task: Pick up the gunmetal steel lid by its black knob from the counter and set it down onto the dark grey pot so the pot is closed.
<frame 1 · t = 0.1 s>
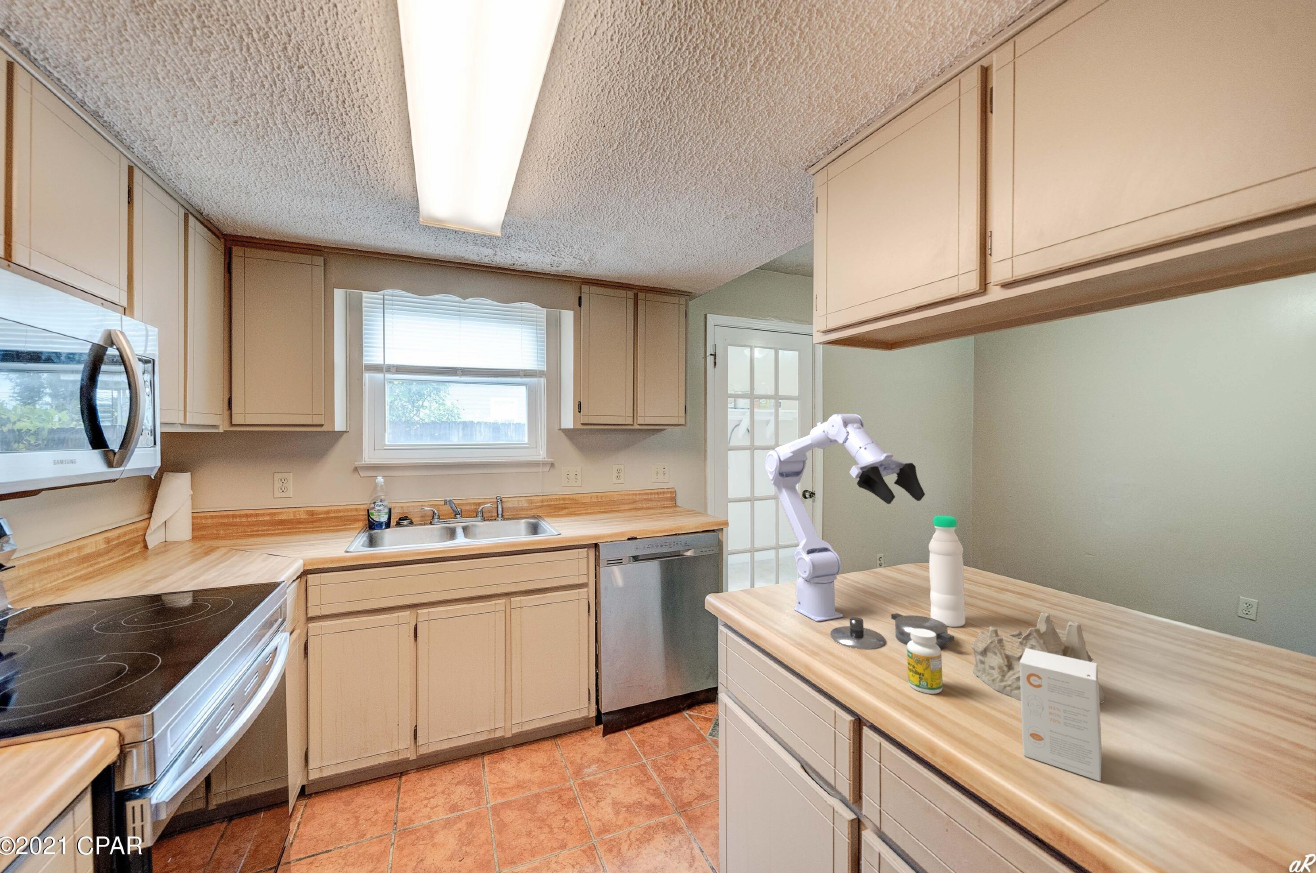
hand: (906, 499, 96), 32 cm above the worktop, tool tilted 50°, fingers open, 7 cm apart
water bottle: (947, 623, 115), on the worktop
lid: (857, 640, 107), on the worktop
small box: (1062, 759, 66), on the worktop
pot: (921, 639, 105), on the worktop
ceramic cottage: (1036, 687, 85), on the worktop
supplement bottle: (925, 688, 86), on the worktop
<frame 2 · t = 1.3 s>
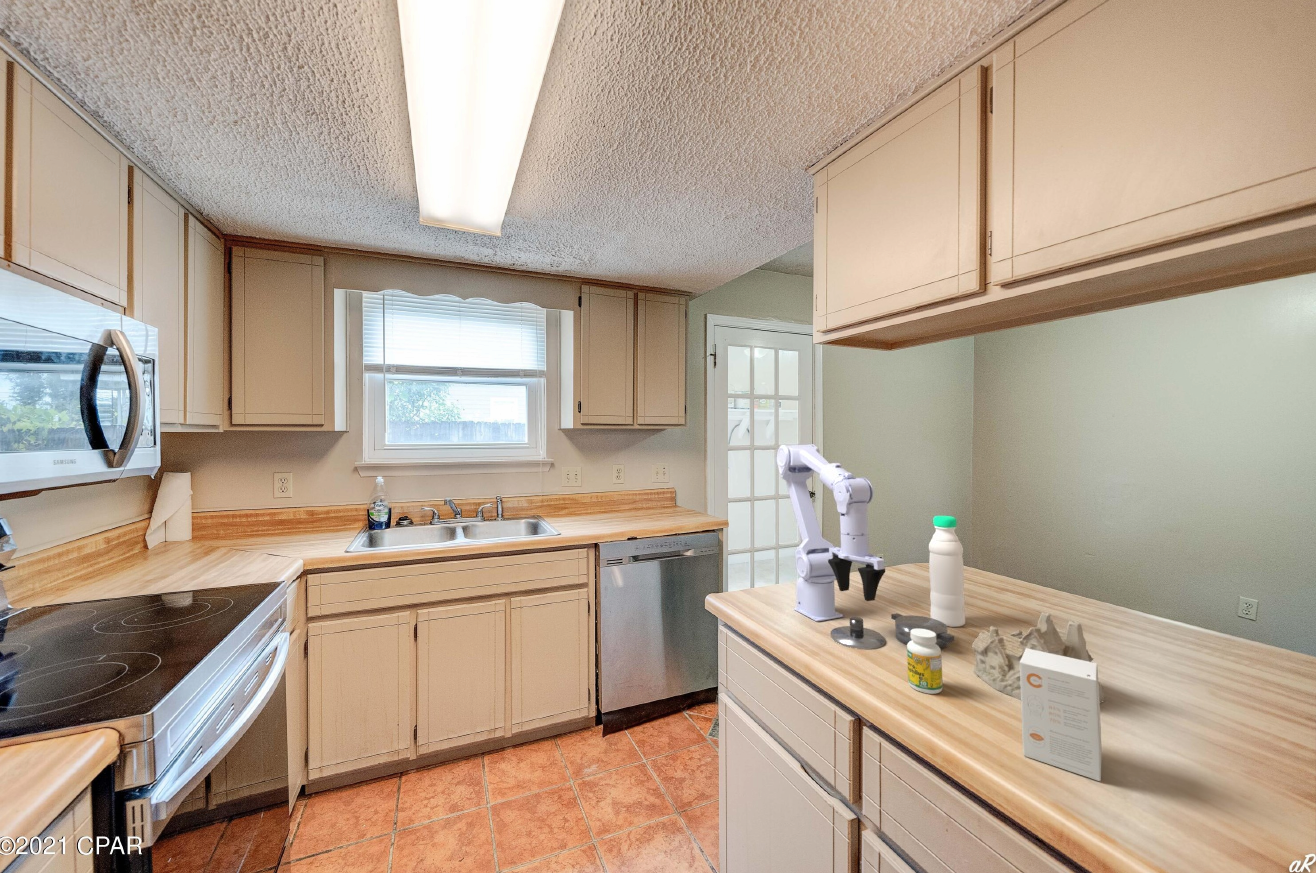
hand: (856, 595, 107), 10 cm above the worktop, tool pointing down, fingers open, 7 cm apart
nothing on the worktop moved.
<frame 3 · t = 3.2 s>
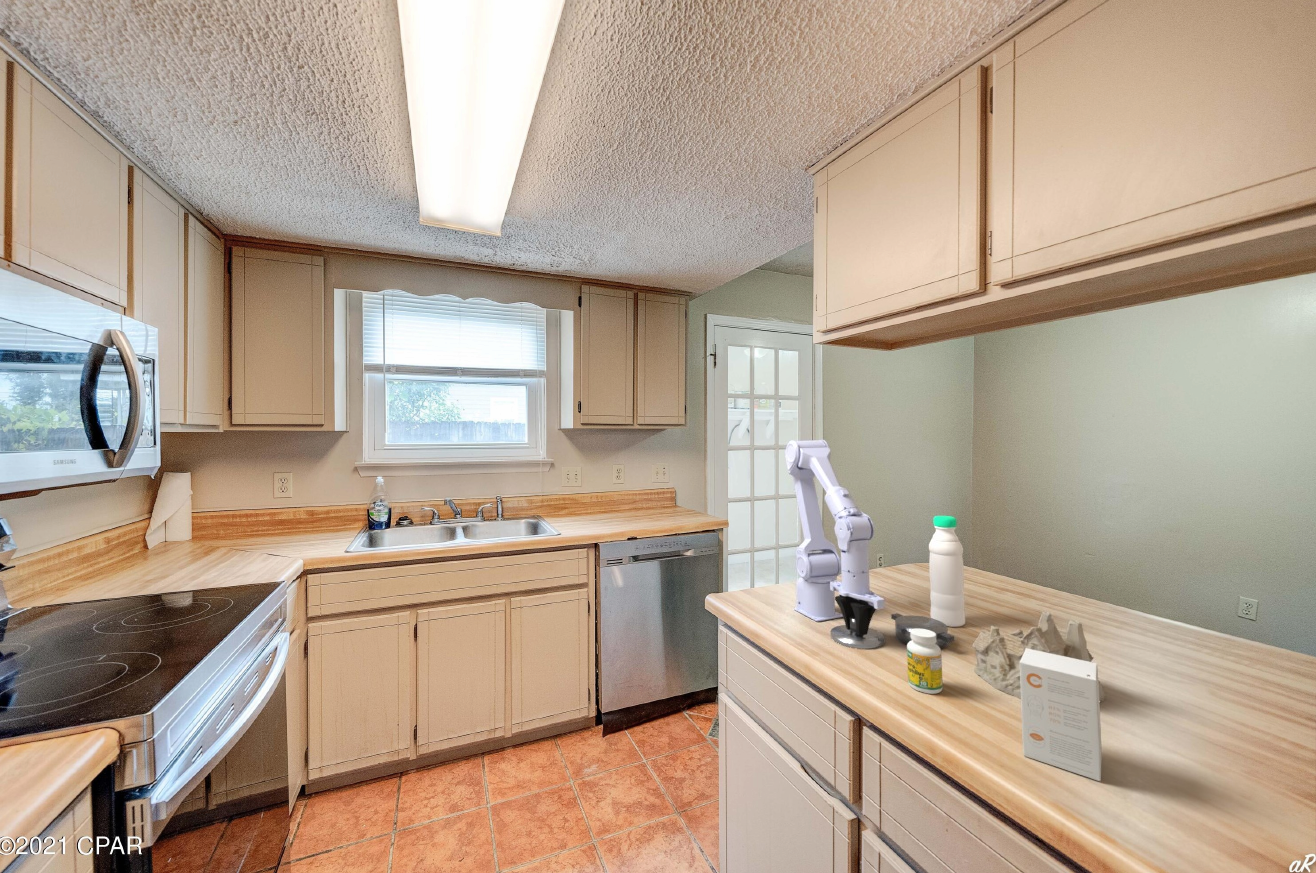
hand: (856, 631, 107), 2 cm above the worktop, tool pointing down, fingers closed on lid, 3 cm apart
lid: (857, 638, 107), on the worktop, touching gripper
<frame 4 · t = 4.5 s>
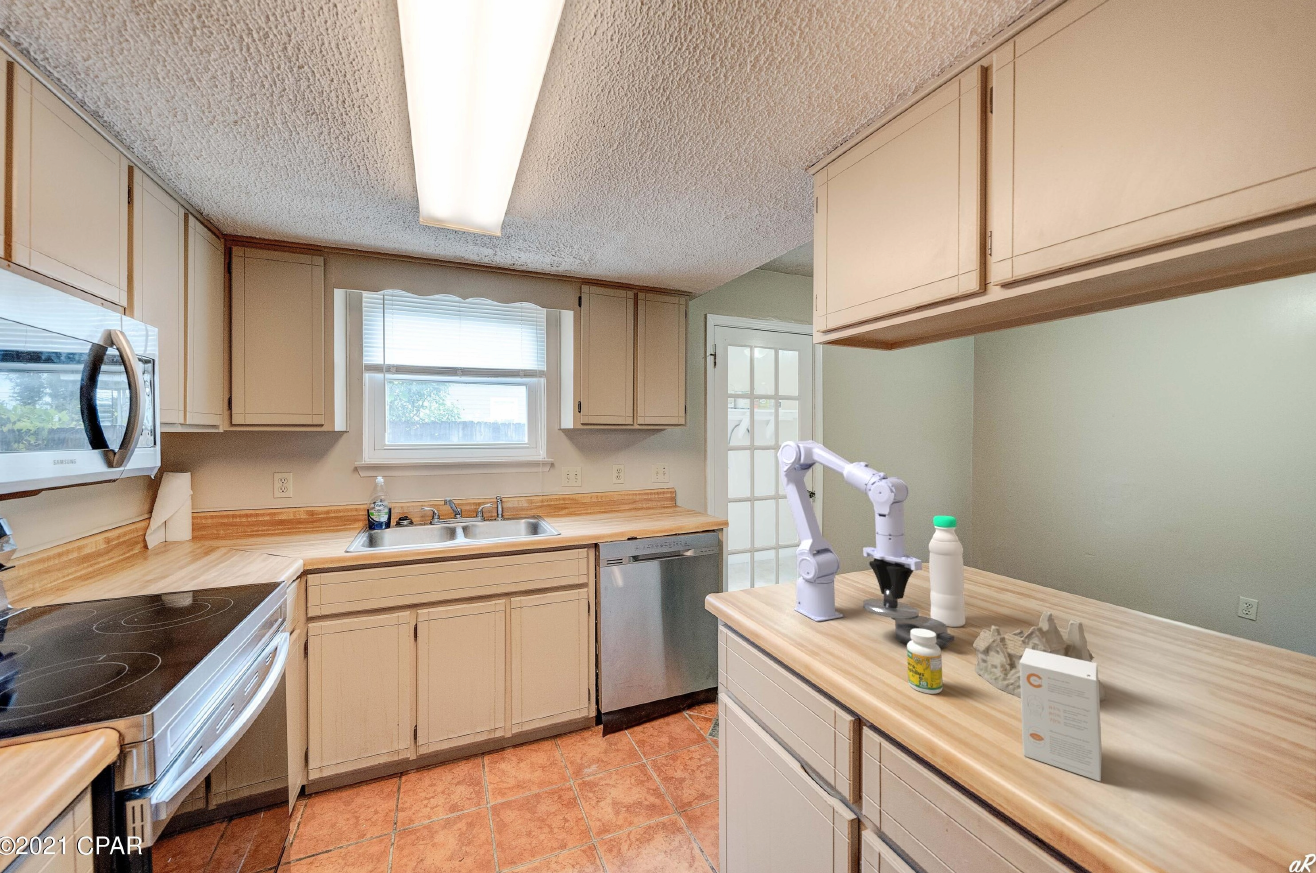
hand: (892, 595, 106), 10 cm above the worktop, tool pointing down, fingers closed on lid, 3 cm apart
lid: (890, 610, 106), point 6 cm above the worktop, tilted 5°, touching gripper
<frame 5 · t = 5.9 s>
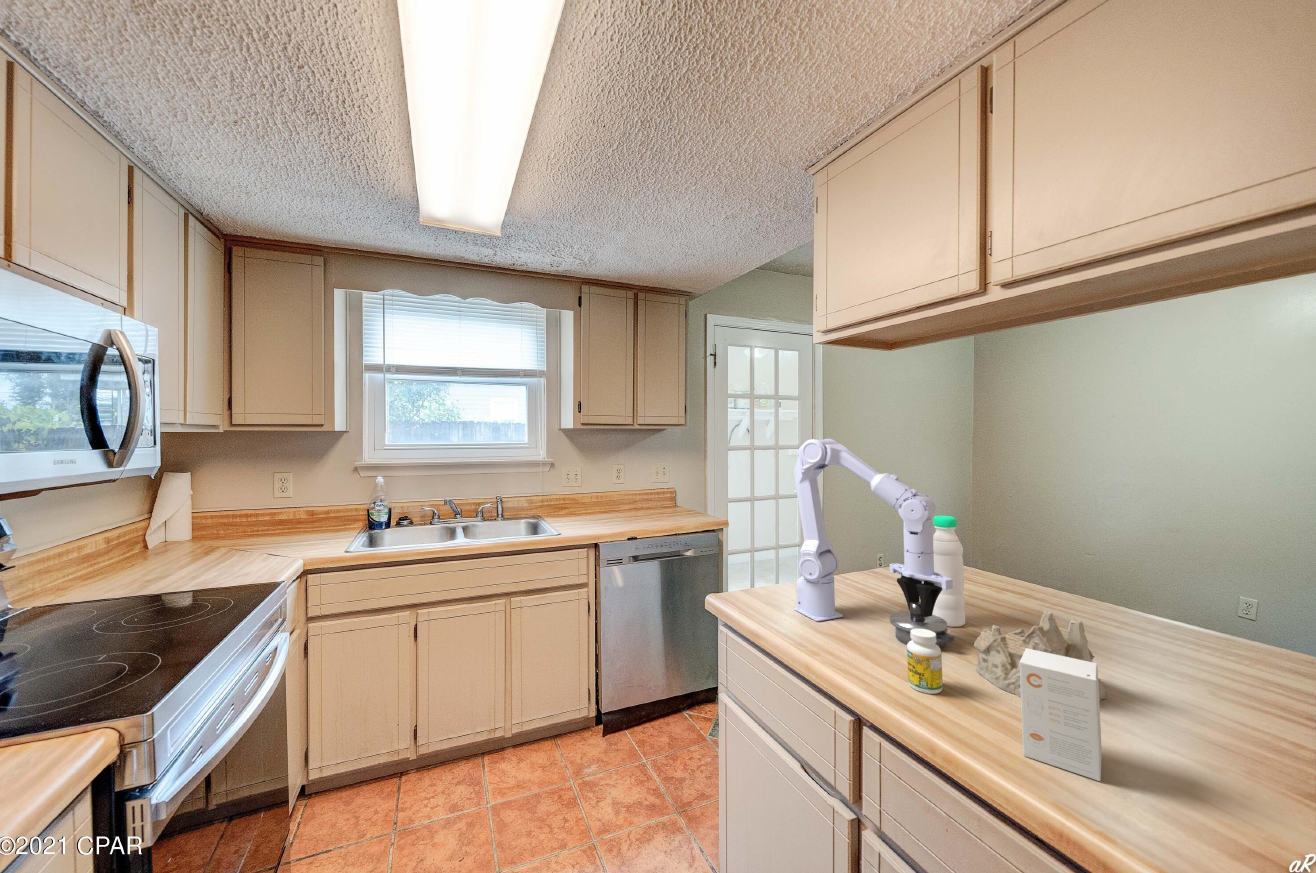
hand: (920, 613, 105), 6 cm above the worktop, tool pointing down, fingers closed on lid, 3 cm apart
lid: (917, 624, 105), point 3 cm above the worktop, touching gripper, pot
when the fingers open (6 cm above the worktop, at t = 6.2 s): lid stays where it is, resting on pot.
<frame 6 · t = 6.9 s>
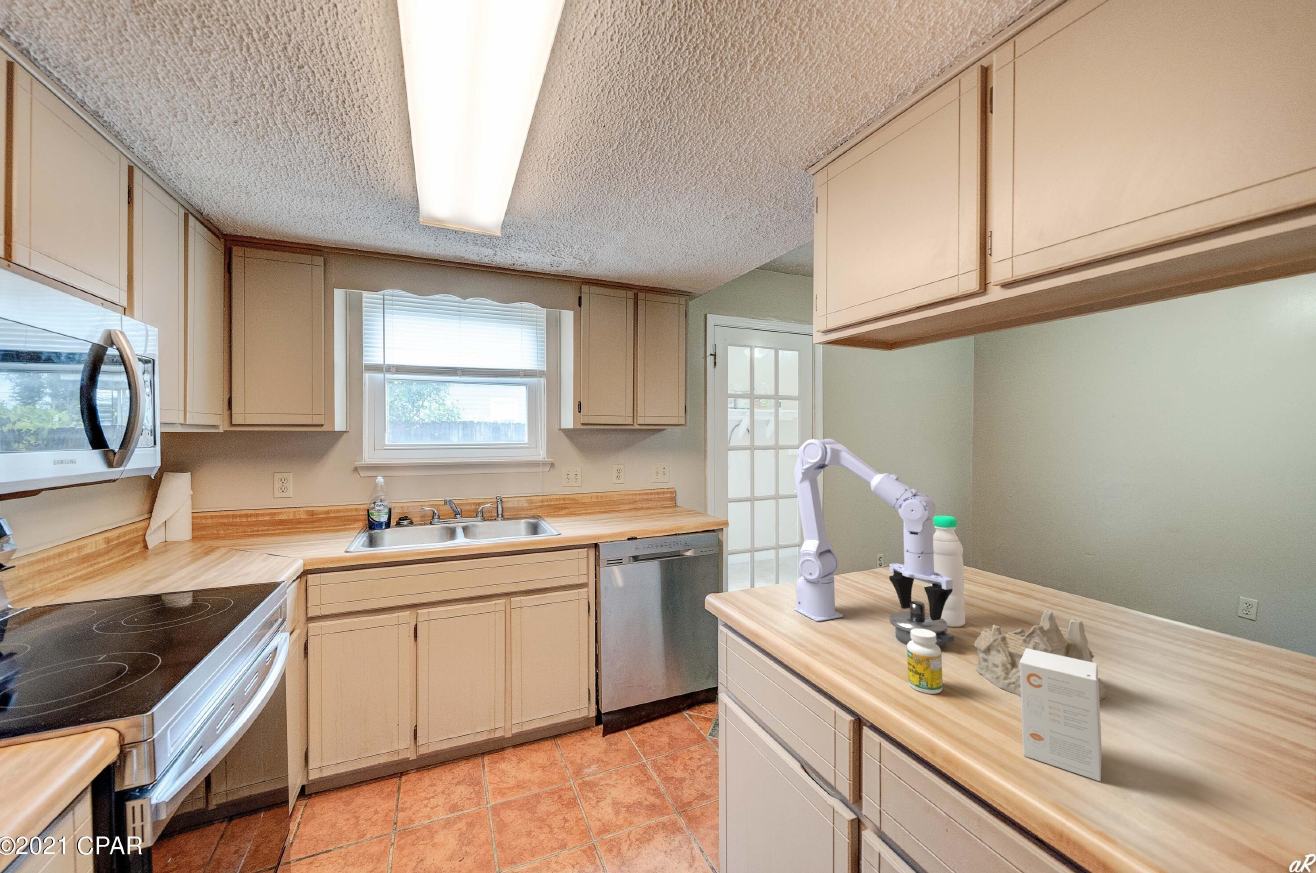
hand: (920, 613, 105), 6 cm above the worktop, tool pointing down, fingers open, 7 cm apart
lid: (917, 624, 105), point 3 cm above the worktop, touching pot
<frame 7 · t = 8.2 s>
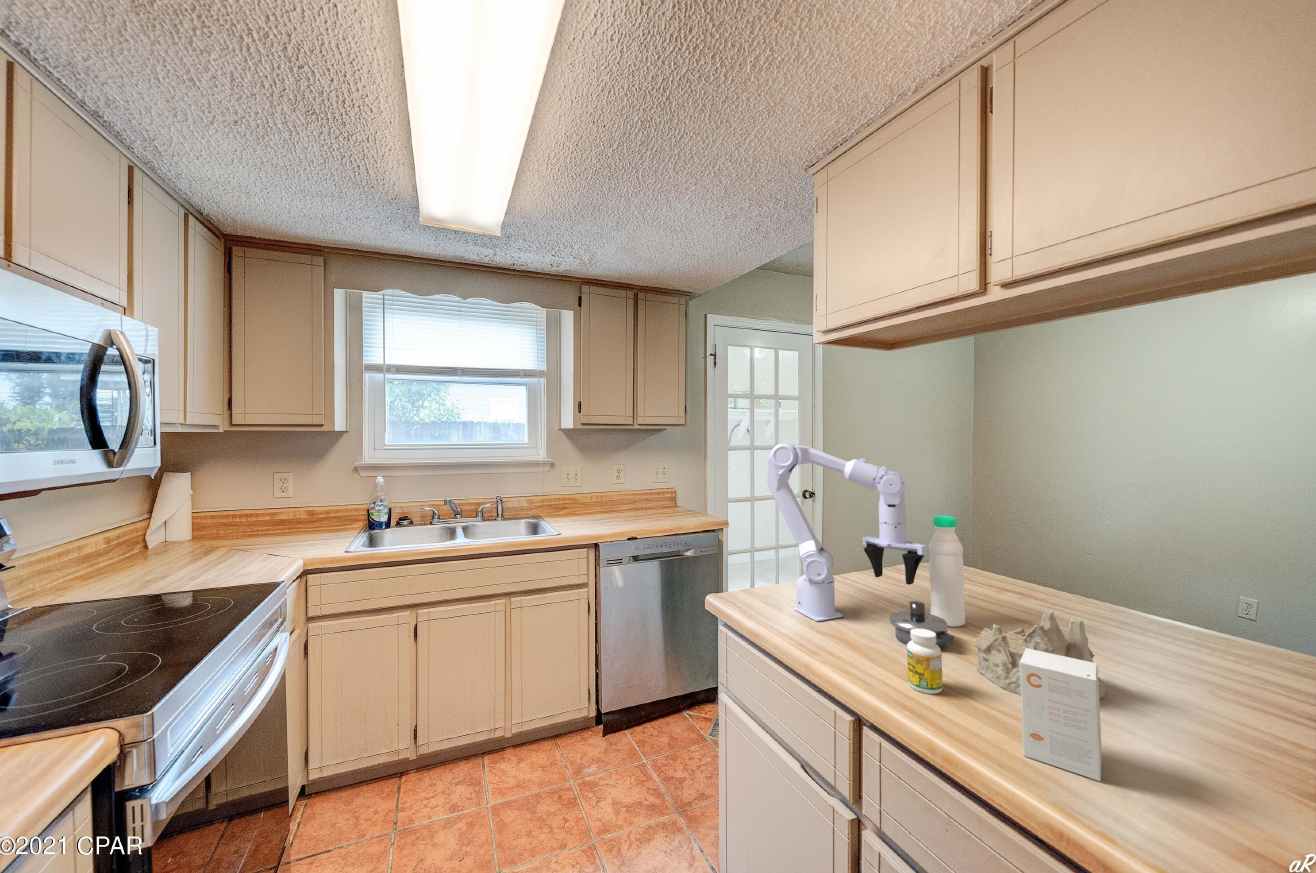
hand: (893, 579, 115), 10 cm above the worktop, tool pointing down, fingers open, 7 cm apart
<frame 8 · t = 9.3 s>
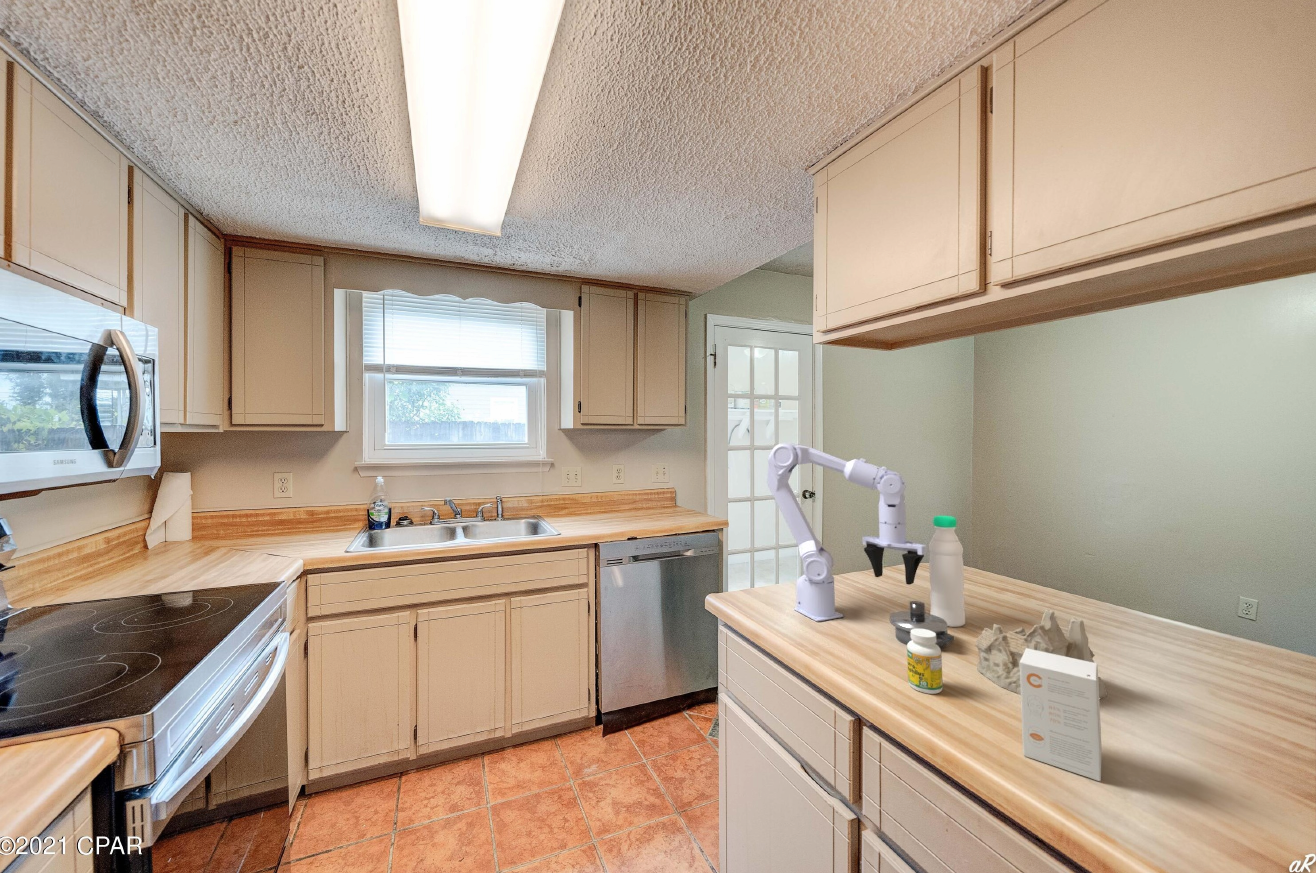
hand: (893, 579, 115), 10 cm above the worktop, tool pointing down, fingers open, 7 cm apart
at the end: lid 0.9 cm off-centre on the pot, point 3.5 cm above the pot's base; lid tilted 0°; the gripper is holding nothing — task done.
